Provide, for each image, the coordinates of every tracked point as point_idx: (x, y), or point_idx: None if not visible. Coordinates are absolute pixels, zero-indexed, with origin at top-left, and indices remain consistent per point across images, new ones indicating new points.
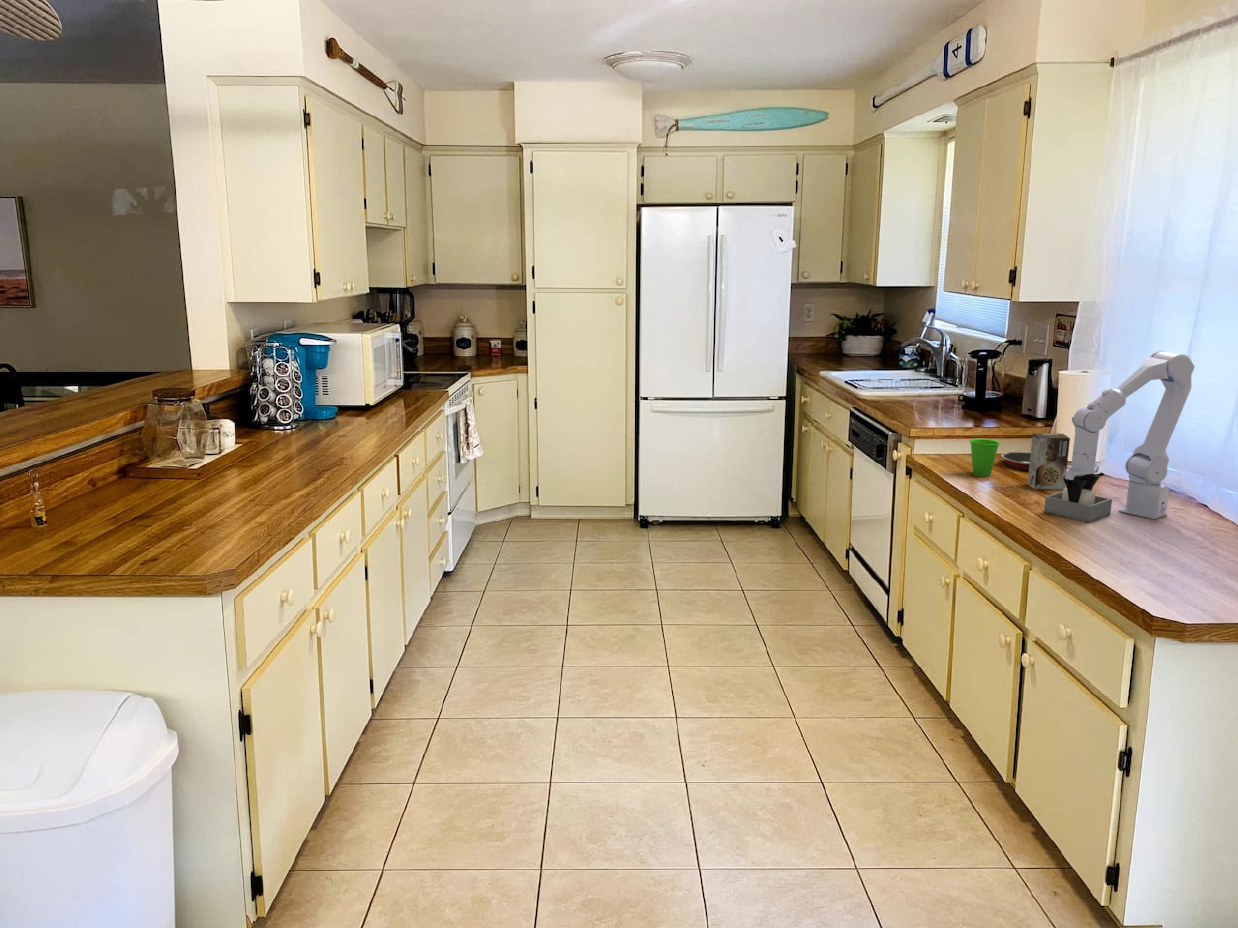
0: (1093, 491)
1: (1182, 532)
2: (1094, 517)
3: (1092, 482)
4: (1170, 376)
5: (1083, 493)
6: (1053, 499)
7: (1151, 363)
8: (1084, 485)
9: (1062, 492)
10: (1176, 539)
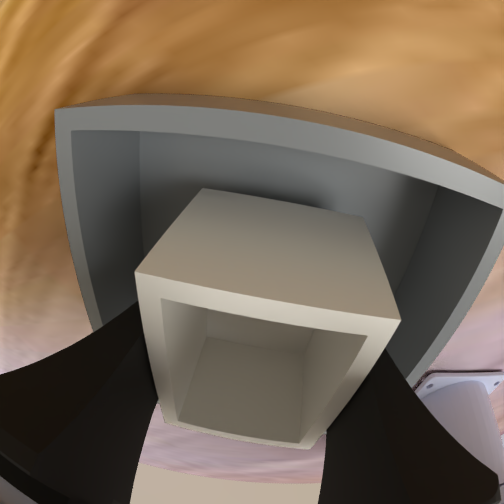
0: (301, 444)
1: (279, 462)
2: None
3: (320, 501)
4: None
5: (170, 412)
6: (66, 183)
7: None
8: (347, 441)
9: (390, 166)
10: (207, 454)
